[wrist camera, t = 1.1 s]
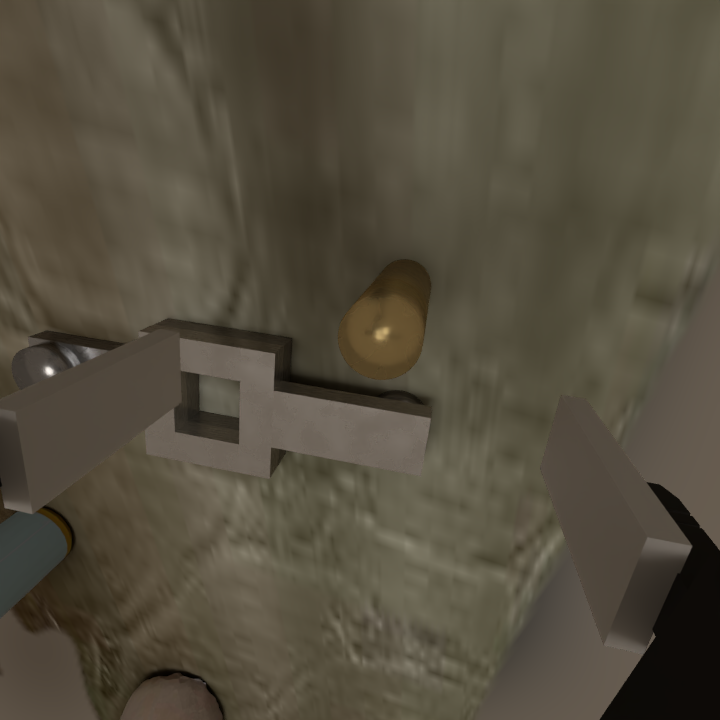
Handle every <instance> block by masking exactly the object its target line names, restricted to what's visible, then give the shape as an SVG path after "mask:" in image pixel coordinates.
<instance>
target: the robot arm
mask: <svg viewBox="0 0 720 720" xmlns="http://www.w3.org/2000/svg"><path fill="white" fill-rule="evenodd" d="M181 402H182V399H181V365H180V332H175V331H169V330H163V329H158V330H156V331H154V332H152V333H149V334H147V335H145V336H142V337H140V338H138V339H136V340H133V341H131V342H129V343H127V344H124V345H122V346H120V347H117V348H115V349H113V350H111V351H108V352H106V353H104V354H102V355H99V356H97V357H95V358H92V359H90V360H88V361H86V362H83V363H81V364H79V365H77V366H74V367H72V368H70V369H67V370H65V371H63V372H61V373H58V374H56V375H54V376H52V377H49V378H47V379H45V380H42V381H40V382H38V383H36V384H33V385H31V386H29V387H27V388H24V389H22V390H20V391H17V392H15V393H13V394H11V395H8V396H6V397H4V398H2V399H0V487H1V491H2V496H3V501H4V507H5V508H8V509H12V510H16V511H21V512H25V513H29V514H34V513H35V512H36V511H38V510H39V509H40V508H42V507H43V506H44V505H46V504H47V503H48V502H50V501H51V500H52V499H54V498H55V497H56V496H58V495H59V494H60V493H62V492H63V491H64V490H66V489H67V488H68V487H69V486H71V485H72V484H73V483H75V482H76V481H77V480H79V479H80V478H81V477H83V476H84V475H85V474H87V473H88V472H89V471H91V470H92V469H93V468H95V467H96V466H97V465H99V464H100V463H101V462H103V461H104V460H105V459H107V458H108V457H109V456H111V455H112V454H113V453H115V452H116V451H117V450H119V449H120V448H121V447H123V446H124V445H125V444H127V443H128V442H129V441H130V440H132V439H133V438H134V437H136V436H137V435H138V434H140V433H141V432H142V431H144V430H145V429H146V428H148V427H149V426H150V425H152V424H153V423H154V422H156V421H157V420H158V419H160V418H161V417H162V416H164V415H165V414H166V413H168V412H169V411H170V410H172V409H173V408H174V407H176V406H177V405H178V404H180V403H181ZM540 470H541V473H542V475H543V478H544V481H545V484H546V486H547V489H548V492H549V495H550V498H551V500H552V503H553V506H554V509H555V511H556V514H557V517H558V520H559V523H560V525H561V528H562V531H563V534H564V537H565V539H566V542H567V545H568V548H569V550H570V553H571V556H572V559H573V561H574V564H575V567H576V570H577V573H578V575H579V578H580V581H581V584H582V587H583V589H584V592H585V595H586V598H587V601H588V603H589V606H590V609H591V611H592V614H593V617H594V620H595V623H596V626H597V628H598V631H599V634H600V636H601V639H602V642H603V645H604V646H608V647H613V648H617V649H622V650H626V651H630V652H635V653H639V654H644V652H645V650H646V648H647V645H648V643H649V641H650V639H651V637H652V634H653V632H654V634H655V636H656V637H655V639H654V640H653V642H652V643H651V645H650V646H649V648H648V649H647V651H646V652H645V654H644V655H643V656H642V658H641V659H640V661H639V662H638V664H637V665H636V667H635V668H634V670H633V671H632V673H631V674H630V676H629V677H628V679H627V680H626V682H625V683H624V684H623V686H622V688H621V689H620V690H619V692H618V693H617V695H616V696H615V698H614V699H613V701H612V702H611V704H610V705H609V707H608V708H607V709H606V711H605V712H604V714H603V715H602V717H601V718H600V720H720V550H719V549H718V548H717V546H716V545H715V544H714V543H713V541H712V540H711V539H710V538H709V536H708V535H707V534H706V533H705V532H704V530H703V529H702V528H700V525H699V524H698V522H697V521H696V520H695V519H694V518H693V516H690V512H689V511H688V510H687V509H686V508H685V506H684V505H683V504H682V502H681V501H680V500H679V499H678V498H677V497H676V496H674V495H673V494H672V493H670V492H669V491H668V490H666V489H665V488H664V487H662V486H661V485H659V484H654V483H648V482H646V481H645V480H644V478H643V477H642V476H641V474H640V473H639V472H638V470H637V469H636V467H635V466H634V465H633V463H632V462H631V460H630V459H629V458H628V456H627V455H626V453H625V452H624V451H623V449H622V448H621V447H620V445H619V444H618V442H617V441H616V440H615V438H614V437H613V435H612V434H611V433H610V431H609V430H608V429H607V427H606V426H605V424H604V423H603V422H602V420H601V419H600V417H599V416H598V415H597V413H596V412H595V411H594V409H593V408H592V406H591V405H590V404H589V402H588V401H587V400H586V399H583V398H577V397H571V396H565V395H561V397H560V400H559V404H558V407H557V411H556V414H555V418H554V421H553V425H552V428H551V432H550V435H549V439H548V442H547V446H546V449H545V453H544V456H543V460H542V463H541V467H540Z"/></svg>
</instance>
